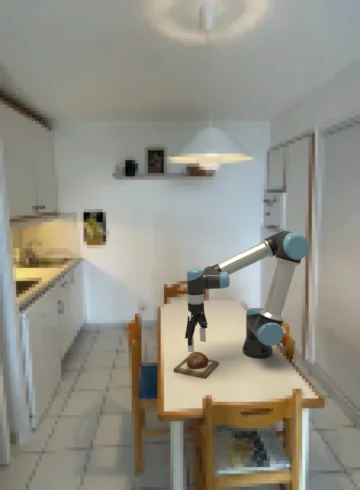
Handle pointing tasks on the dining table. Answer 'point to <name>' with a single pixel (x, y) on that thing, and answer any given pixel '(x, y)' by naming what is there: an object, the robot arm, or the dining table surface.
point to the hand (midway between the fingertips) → (197, 346)
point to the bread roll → (197, 360)
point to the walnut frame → (199, 373)
